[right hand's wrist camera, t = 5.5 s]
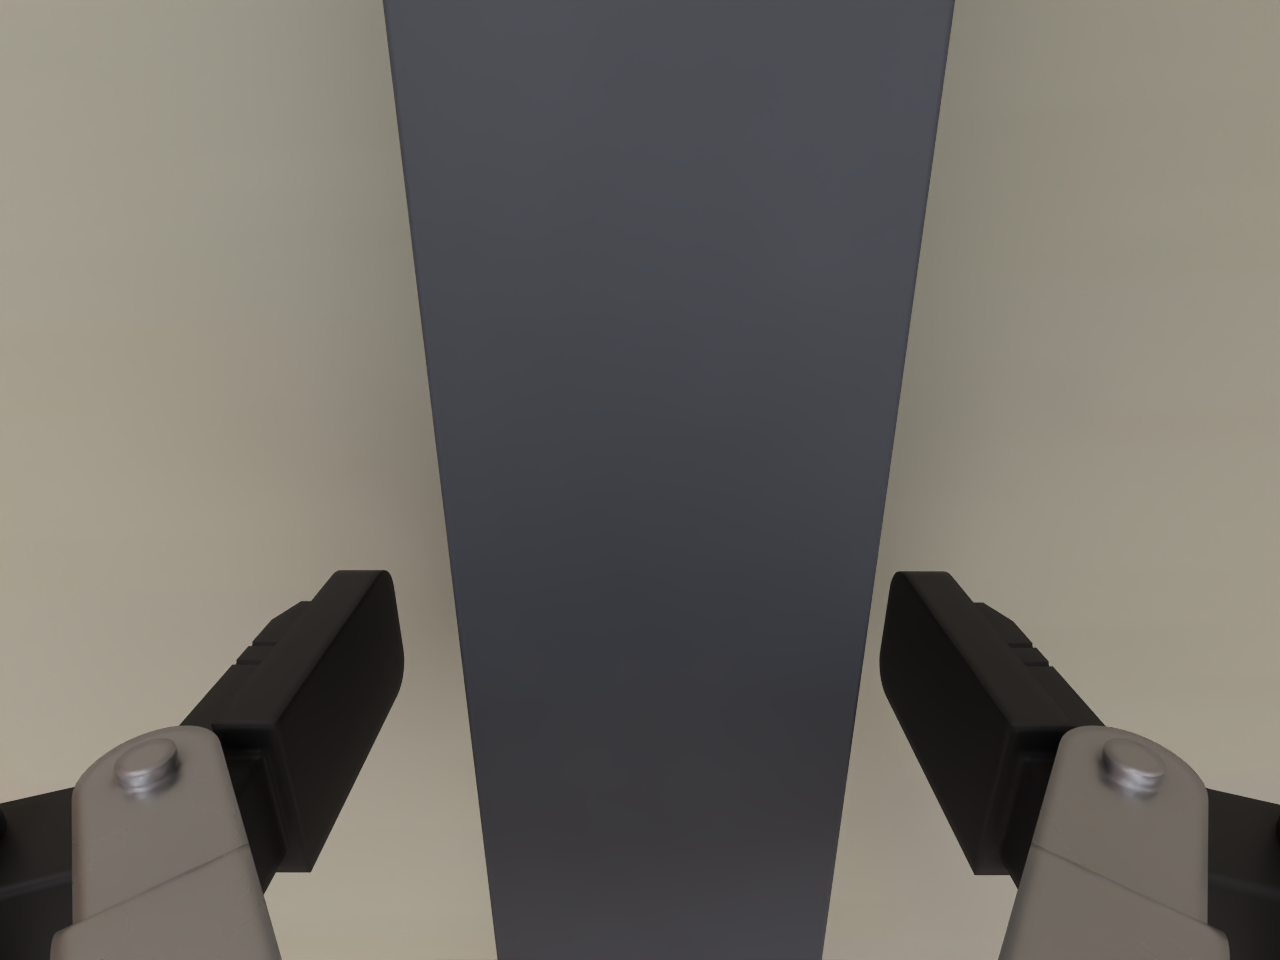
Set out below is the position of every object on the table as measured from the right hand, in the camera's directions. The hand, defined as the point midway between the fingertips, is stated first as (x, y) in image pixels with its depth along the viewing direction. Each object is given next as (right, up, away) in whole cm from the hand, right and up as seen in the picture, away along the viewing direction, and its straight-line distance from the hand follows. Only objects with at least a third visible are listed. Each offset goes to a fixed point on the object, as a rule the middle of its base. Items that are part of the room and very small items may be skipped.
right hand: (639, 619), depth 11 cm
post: (0, +32, -8) cm, 33 cm away
